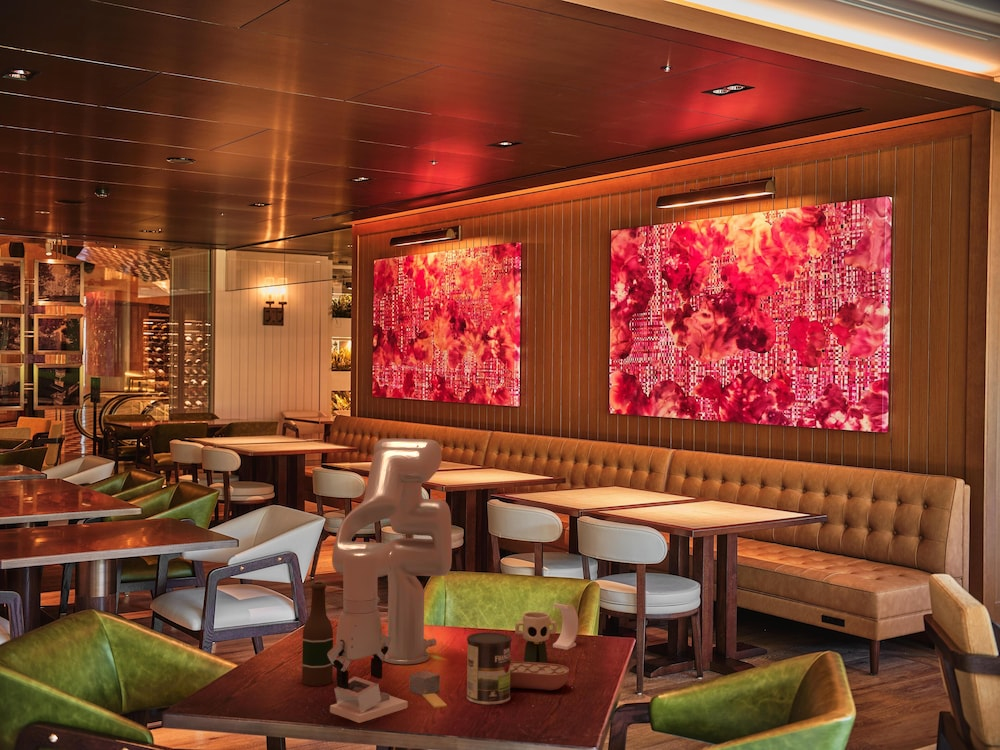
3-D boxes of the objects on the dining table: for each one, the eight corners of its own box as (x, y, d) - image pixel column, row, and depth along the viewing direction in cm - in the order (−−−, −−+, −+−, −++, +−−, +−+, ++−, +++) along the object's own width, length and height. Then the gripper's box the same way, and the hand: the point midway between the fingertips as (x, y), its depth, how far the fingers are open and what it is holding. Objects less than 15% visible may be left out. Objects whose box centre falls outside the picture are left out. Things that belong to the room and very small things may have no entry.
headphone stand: (552, 647, 285) (553, 603, 285) (563, 642, 290) (564, 600, 290) (567, 649, 282) (567, 605, 282) (578, 645, 287) (578, 602, 287)
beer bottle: (326, 687, 245) (327, 587, 245) (295, 685, 247) (297, 585, 247) (338, 678, 253) (339, 580, 253) (308, 676, 254) (309, 579, 254)
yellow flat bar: (422, 696, 239) (422, 694, 239) (434, 695, 241) (434, 693, 241) (434, 708, 231) (434, 706, 231) (446, 706, 232) (446, 704, 232)
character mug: (517, 669, 263) (517, 618, 263) (512, 661, 270) (513, 612, 270) (558, 667, 264) (559, 617, 264) (553, 660, 271) (553, 611, 272)
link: (357, 692, 232) (354, 676, 231) (381, 700, 226) (378, 683, 226) (337, 705, 228) (334, 688, 227) (361, 713, 222) (357, 696, 221)
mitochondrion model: (471, 692, 244) (471, 671, 244) (476, 679, 254) (477, 659, 254) (567, 696, 241) (568, 675, 241) (569, 684, 251) (569, 663, 251)
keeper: (377, 698, 238) (378, 674, 238) (407, 707, 231) (407, 683, 231) (329, 712, 227) (330, 687, 227) (359, 722, 221) (359, 697, 221)
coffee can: (519, 696, 240) (519, 636, 240) (494, 708, 232) (495, 645, 232) (482, 688, 246) (483, 629, 246) (457, 699, 238) (458, 638, 238)
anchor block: (424, 687, 247) (425, 670, 247) (439, 691, 243) (439, 674, 243) (409, 691, 243) (409, 674, 243) (424, 696, 240) (424, 678, 240)
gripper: (378, 596, 236) (378, 670, 236) (318, 609, 223) (317, 687, 224) (400, 601, 231) (400, 677, 231) (340, 615, 218) (339, 695, 219)
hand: (359, 682), depth 227 cm, fingers open, 9 cm apart
